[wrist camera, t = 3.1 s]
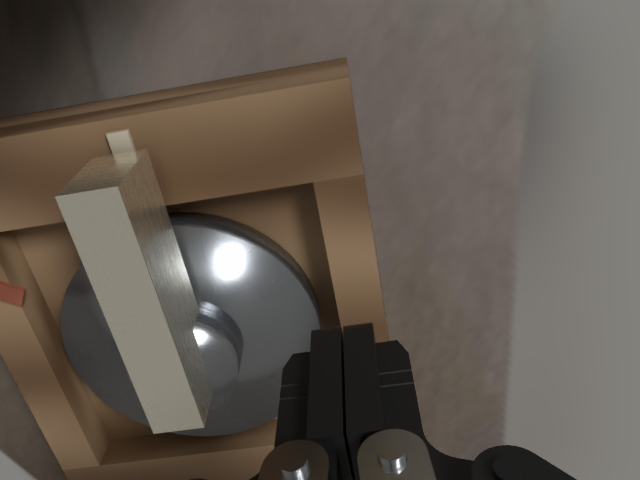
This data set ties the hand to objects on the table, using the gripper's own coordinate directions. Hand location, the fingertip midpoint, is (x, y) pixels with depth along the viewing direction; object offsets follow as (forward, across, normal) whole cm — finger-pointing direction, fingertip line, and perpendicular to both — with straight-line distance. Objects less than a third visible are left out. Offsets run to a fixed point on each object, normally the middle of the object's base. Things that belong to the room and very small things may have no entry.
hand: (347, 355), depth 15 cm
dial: (+8, +7, +2) cm, 11 cm away
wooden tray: (+10, +6, +4) cm, 12 cm away
